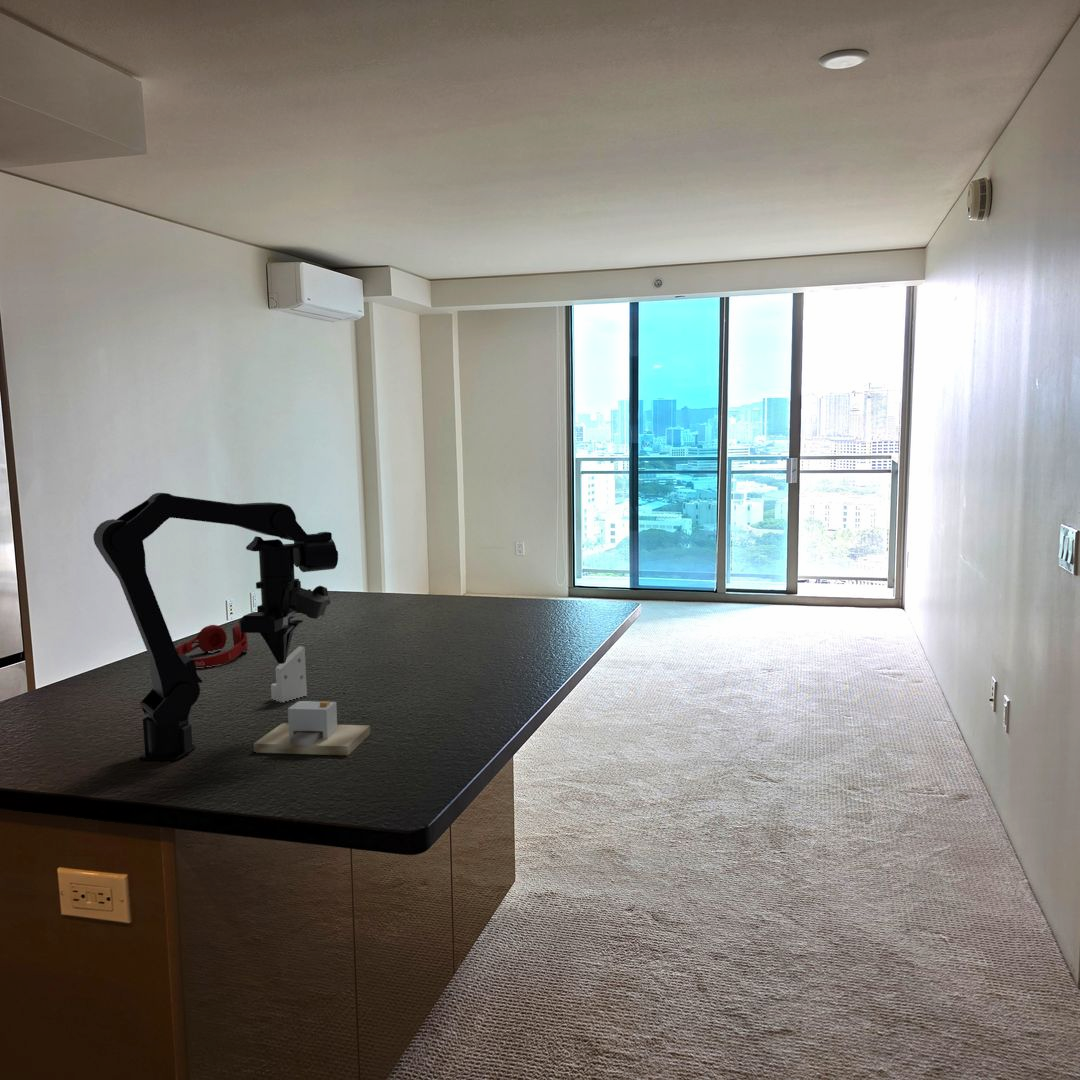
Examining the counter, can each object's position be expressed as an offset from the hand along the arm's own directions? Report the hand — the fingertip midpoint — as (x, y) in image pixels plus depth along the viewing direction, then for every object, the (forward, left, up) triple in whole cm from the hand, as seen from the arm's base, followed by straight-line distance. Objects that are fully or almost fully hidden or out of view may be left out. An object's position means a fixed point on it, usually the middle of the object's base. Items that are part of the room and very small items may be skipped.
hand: (281, 663), depth 159 cm
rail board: (+8, -7, -12) cm, 16 cm away
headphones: (-41, +51, -12) cm, 67 cm away
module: (+8, -7, -10) cm, 15 cm away
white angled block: (-8, +20, -12) cm, 25 cm away
